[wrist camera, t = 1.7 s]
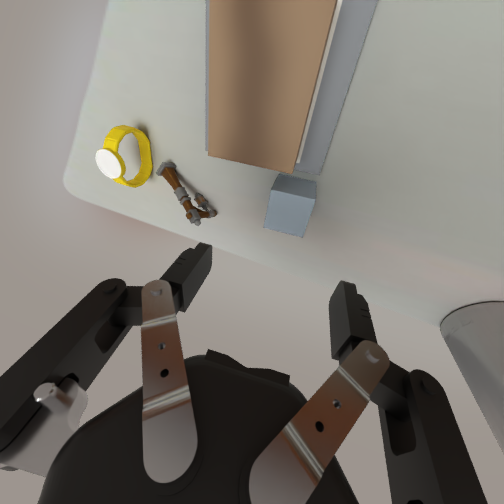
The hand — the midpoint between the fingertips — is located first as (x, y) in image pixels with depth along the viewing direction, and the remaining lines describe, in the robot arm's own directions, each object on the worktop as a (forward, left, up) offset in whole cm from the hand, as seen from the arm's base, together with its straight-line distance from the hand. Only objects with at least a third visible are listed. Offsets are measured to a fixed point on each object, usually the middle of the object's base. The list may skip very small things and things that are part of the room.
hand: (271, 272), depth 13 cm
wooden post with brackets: (+12, +2, -14) cm, 18 cm away
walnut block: (+4, -9, -12) cm, 16 cm away
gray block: (0, 0, -14) cm, 14 cm away
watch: (+18, -1, -14) cm, 23 cm away
